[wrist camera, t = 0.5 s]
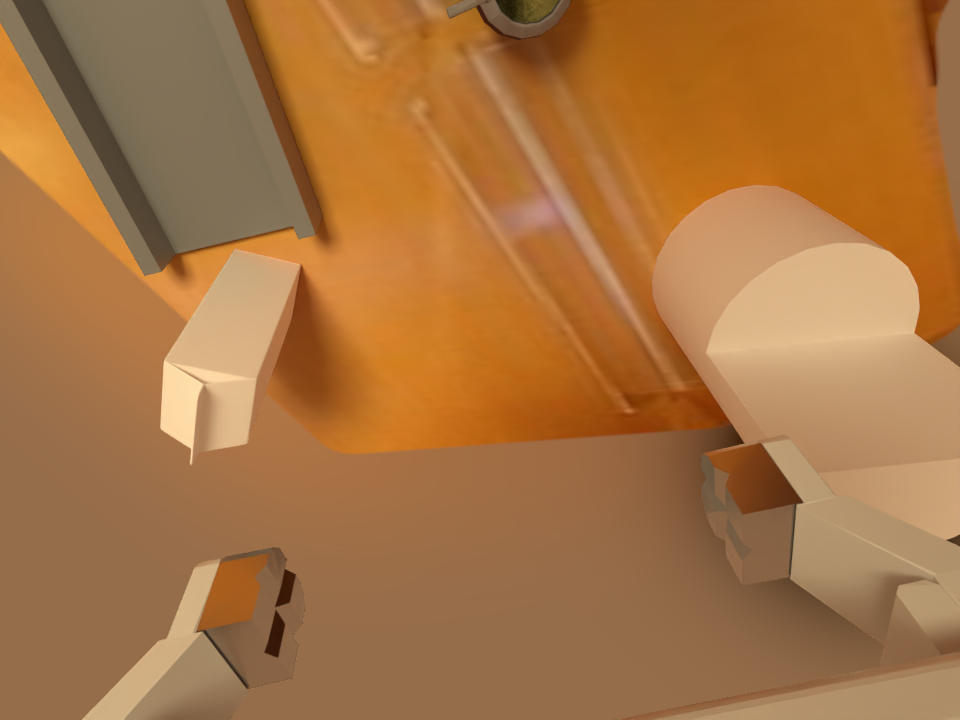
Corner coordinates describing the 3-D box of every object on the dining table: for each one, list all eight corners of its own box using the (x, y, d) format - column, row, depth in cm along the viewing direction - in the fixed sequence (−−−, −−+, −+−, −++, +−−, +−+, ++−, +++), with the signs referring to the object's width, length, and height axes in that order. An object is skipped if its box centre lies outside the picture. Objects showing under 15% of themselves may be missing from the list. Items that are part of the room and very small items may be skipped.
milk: (228, 303, 59) (140, 460, 41) (235, 246, 56) (142, 388, 38) (293, 318, 61) (236, 476, 42) (303, 262, 58) (245, 407, 39)
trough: (-40, -122, 41) (-87, -130, 37) (176, -181, 40) (151, -195, 37) (163, 254, 56) (144, 275, 52) (322, 216, 55) (315, 235, 52)
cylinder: (802, 336, 67) (1008, 541, 43) (644, 351, 66) (767, 567, 43) (844, 177, 57) (1137, 328, 34) (660, 192, 57) (829, 357, 33)
